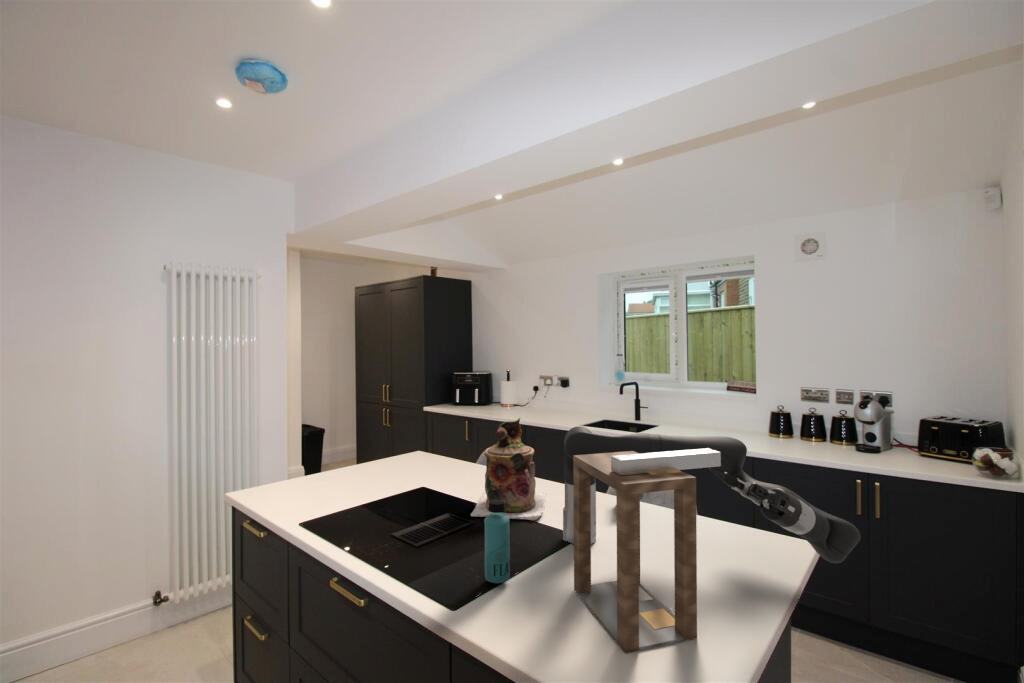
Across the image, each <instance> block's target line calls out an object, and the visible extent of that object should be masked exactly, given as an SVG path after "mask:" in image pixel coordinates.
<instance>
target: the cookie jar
mask: <svg viewBox="0 0 1024 683" xmlns="http://www.w3.org/2000/svg"><path fill="white" fill-rule="evenodd" d="M520 420H521V417H518V418H517V419H516V420H508V421H504V422H502V423H501V424H499V425H498V427H497V429H496V432H495V433H494V434H495V435H494V436H495V438H496V439H497V440H498V441H497V442H496V443H495V444H493V445H492V446H490V447H487V448H486V449H485V450H484V457H485V458H486V469H485V474H484V479H485V480H484V481H485V483H484V491H483V492H482V494H481V497H480V499H479V500H478V501H477V503H476V505H475V508H474V509H473V510H472V512H471V513H470V516H471V517H472V518H473V517H479V518H481V517H482V518H483V517H485V518H486V517H487V516H488V515H489V514H491V513H493V512H490V511H489V509H488V508H489V502H490V501H492V500H503V501H504V502H505V511H504V512H500V513H503V514H505V515H506V516H507V517H508V518H509V520H511V519H512V520H529V521H536V520H538V518H541V516H542V515H543V514H544V511H545V502H546V497H547V496H546V495H547V492H536V484H537V482H536V478H535V475H536V469H535V468H536V464H535V462H534V461H533V456H534V455H535V449H534V448H533V447H531V446H528V445H526V444H524V443H523V442H522V438H521V437H522V433H523V430H522V428H521V424H520Z"/></svg>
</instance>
